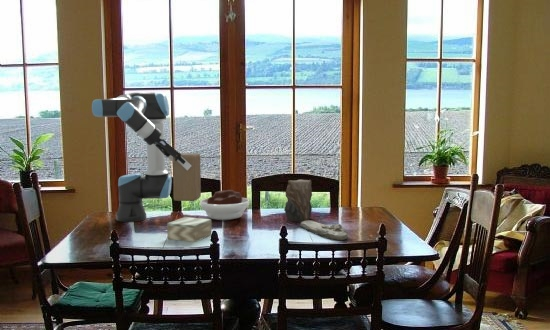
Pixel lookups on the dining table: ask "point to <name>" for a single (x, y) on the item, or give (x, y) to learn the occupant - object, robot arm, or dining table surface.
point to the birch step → (189, 229)
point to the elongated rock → (326, 230)
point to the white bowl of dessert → (225, 205)
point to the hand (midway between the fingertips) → (184, 166)
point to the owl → (298, 200)
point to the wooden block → (187, 178)
